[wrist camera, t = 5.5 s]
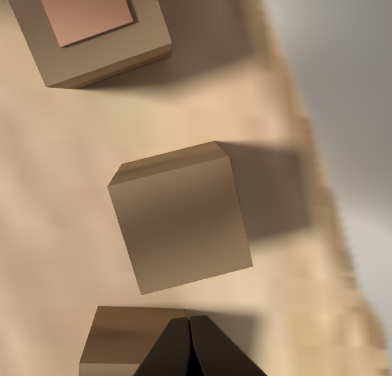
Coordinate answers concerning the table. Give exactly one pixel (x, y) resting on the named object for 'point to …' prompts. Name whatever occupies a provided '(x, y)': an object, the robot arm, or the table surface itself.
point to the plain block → (180, 217)
